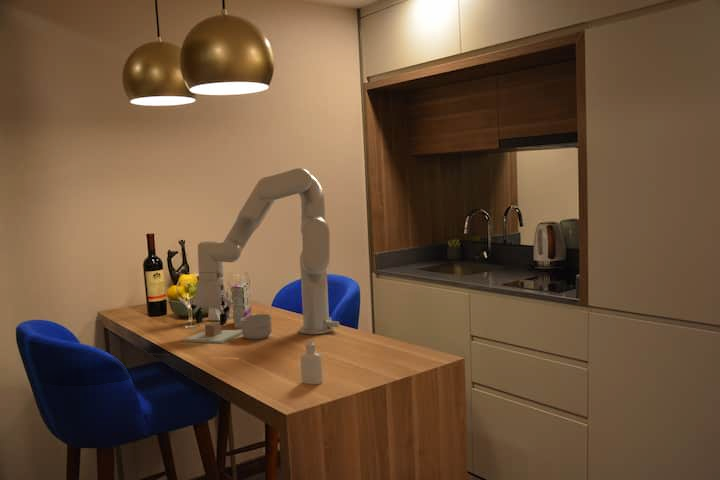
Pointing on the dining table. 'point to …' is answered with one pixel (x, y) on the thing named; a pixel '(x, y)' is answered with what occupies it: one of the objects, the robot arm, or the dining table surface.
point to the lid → (213, 334)
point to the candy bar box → (240, 302)
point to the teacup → (256, 326)
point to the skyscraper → (215, 313)
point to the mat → (214, 343)
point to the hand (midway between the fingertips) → (211, 323)
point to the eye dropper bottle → (311, 365)
